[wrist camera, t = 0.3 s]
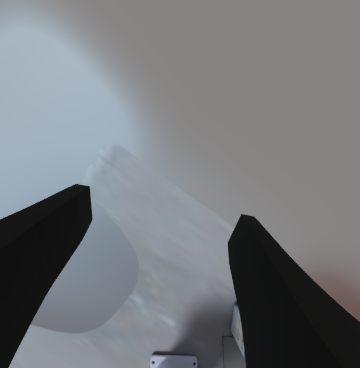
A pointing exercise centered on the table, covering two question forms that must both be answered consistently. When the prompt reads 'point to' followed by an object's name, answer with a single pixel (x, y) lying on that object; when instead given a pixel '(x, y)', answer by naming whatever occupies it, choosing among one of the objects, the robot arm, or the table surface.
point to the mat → (232, 354)
